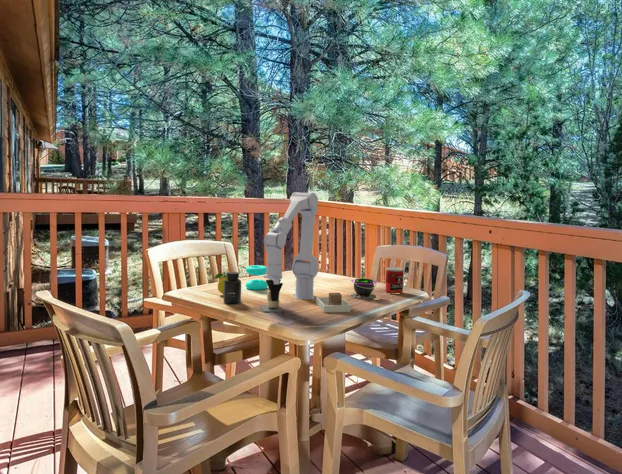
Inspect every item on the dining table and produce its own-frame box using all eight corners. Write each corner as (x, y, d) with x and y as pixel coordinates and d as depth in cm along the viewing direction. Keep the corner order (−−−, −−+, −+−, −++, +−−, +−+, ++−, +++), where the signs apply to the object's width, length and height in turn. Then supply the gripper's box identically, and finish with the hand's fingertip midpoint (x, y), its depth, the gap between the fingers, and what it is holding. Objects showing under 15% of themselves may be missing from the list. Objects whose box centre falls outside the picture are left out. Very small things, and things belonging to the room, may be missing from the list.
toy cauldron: (362, 303, 203) (362, 276, 202) (338, 296, 215) (339, 271, 214) (388, 299, 212) (389, 273, 211) (364, 292, 224) (365, 268, 223)
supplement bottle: (228, 305, 194) (228, 274, 193) (220, 301, 200) (220, 272, 199) (244, 303, 198) (244, 273, 197) (236, 299, 204) (236, 270, 203)
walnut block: (328, 308, 191) (328, 292, 191) (338, 308, 192) (339, 292, 191) (330, 311, 187) (331, 295, 187) (341, 310, 188) (341, 295, 187)
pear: (214, 294, 213) (214, 270, 212) (227, 292, 217) (227, 269, 216) (220, 297, 208) (220, 273, 207) (233, 295, 211) (233, 272, 210)
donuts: (253, 269, 220) (241, 265, 227) (253, 291, 221) (241, 287, 228) (272, 267, 226) (259, 264, 234) (272, 288, 227) (259, 285, 235)
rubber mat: (260, 306, 194) (260, 305, 194) (283, 305, 196) (283, 304, 196) (263, 312, 185) (263, 311, 185) (287, 311, 187) (287, 310, 187)
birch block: (277, 304, 193) (277, 289, 192) (279, 307, 189) (279, 291, 188) (267, 305, 192) (267, 289, 191) (268, 307, 188) (268, 291, 187)
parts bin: (315, 304, 199) (316, 297, 198) (340, 304, 201) (341, 296, 200) (323, 313, 185) (323, 305, 185) (350, 313, 187) (350, 305, 187)
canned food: (391, 295, 220) (392, 270, 219) (381, 291, 227) (382, 267, 226) (406, 294, 223) (407, 269, 222) (396, 290, 230) (397, 266, 229)
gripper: (261, 261, 195) (261, 295, 196) (265, 267, 181) (265, 304, 182) (279, 261, 196) (279, 295, 198) (285, 267, 182) (284, 303, 184)
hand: (273, 299), depth 190 cm, fingers closed on birch block, 4 cm apart
